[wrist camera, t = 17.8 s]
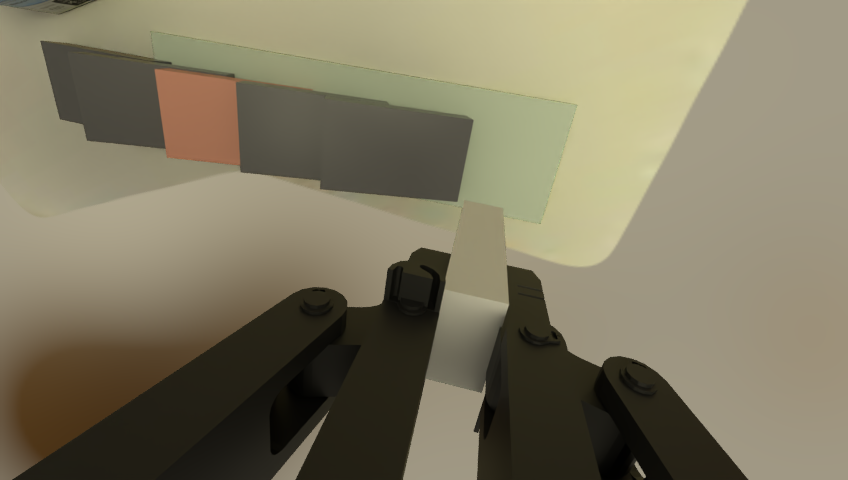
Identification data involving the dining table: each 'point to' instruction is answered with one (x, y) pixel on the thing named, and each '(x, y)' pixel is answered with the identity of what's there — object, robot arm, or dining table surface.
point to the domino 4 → (392, 150)
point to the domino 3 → (281, 129)
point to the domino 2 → (121, 98)
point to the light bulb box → (45, 5)
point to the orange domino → (200, 115)
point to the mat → (491, 110)
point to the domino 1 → (63, 75)
